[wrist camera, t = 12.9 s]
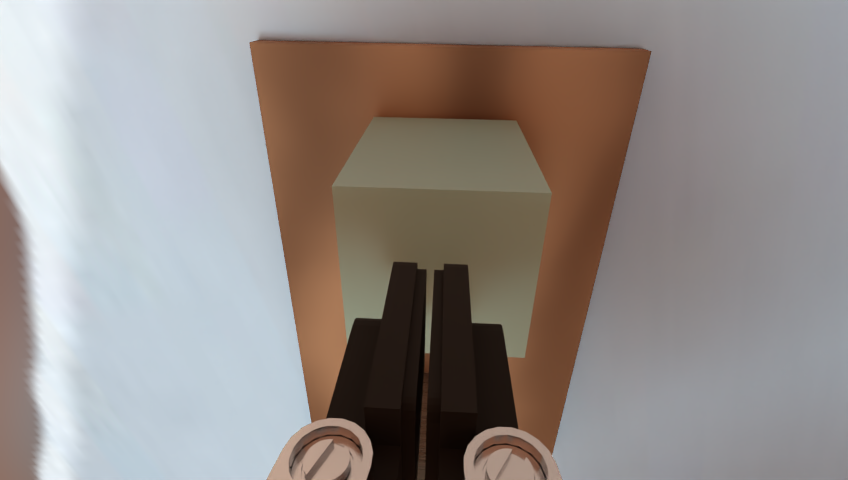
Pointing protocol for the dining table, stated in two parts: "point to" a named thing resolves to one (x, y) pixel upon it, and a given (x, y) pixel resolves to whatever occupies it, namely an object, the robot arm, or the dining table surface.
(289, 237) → the board
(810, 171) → the dining table surface
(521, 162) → the olive block
